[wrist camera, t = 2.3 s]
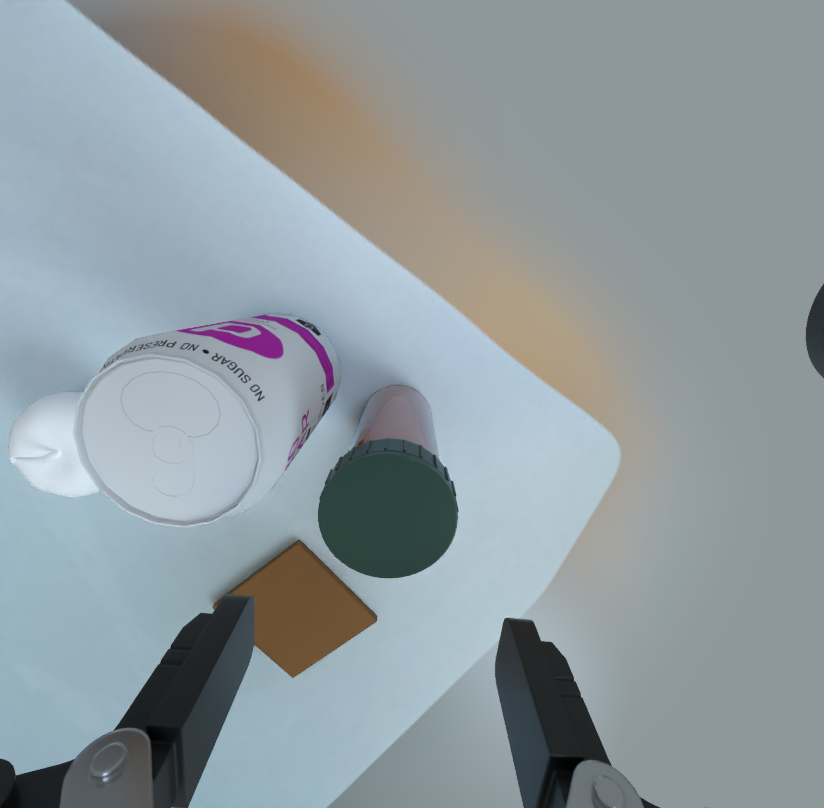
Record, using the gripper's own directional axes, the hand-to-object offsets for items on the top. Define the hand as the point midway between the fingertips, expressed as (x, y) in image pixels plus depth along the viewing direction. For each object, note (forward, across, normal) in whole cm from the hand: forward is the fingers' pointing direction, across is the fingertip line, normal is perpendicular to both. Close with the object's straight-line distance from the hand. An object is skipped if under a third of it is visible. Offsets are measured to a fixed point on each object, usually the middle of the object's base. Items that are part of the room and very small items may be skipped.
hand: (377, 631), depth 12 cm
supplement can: (+20, +8, -3) cm, 22 cm away
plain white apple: (+20, +21, +3) cm, 29 cm away
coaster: (+20, +7, +18) cm, 28 cm away
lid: (+6, 0, 0) cm, 6 cm away
